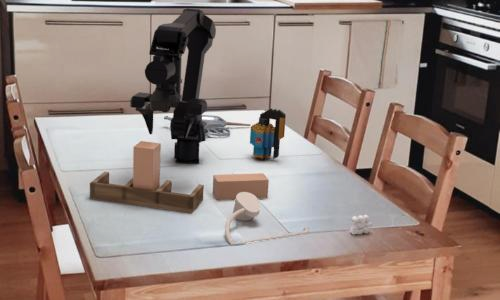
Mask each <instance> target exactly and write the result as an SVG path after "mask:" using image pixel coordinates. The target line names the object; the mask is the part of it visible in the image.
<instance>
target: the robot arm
mask: <svg viewBox="0 0 500 300" xmlns="http://www.w3.org/2000/svg"><path fill="white" fill-rule="evenodd" d="M216 29H217V27H216V25H215V23H214V21H213V19H211V18H210V17H209V16H207V15H205V12H204V11H203V10H202V9H200V8H190V7H189V8H188V7H187V8H184V9H182V13H181V14H180V15H178V17H177V18H176V19H174V20H173V21H172V22H170V23H163V24H159V25H158V27H157V28H156V29H155V30H154V33H153V37H152V41H151V45H150V48H149V54H148V55H149V56H152V61H150V62H149V63H148V64H147V65H146V67H145V69H144V76H145V78H146V80H147V81H148V82H149V83H150V84H153V85H155V89H154V91H152V93H149V92H137V93H136V94H134V95H132V96H131V98H130V102H129V103H130V104H129V106H130V108H135V109H134V110H135V111H136V112H139V113H140V114H141V116H142V118H143V120H144V122H145V126H146V128H147V131H148V133H149V135H153V133H154V132H153V131H154V112H162V113H168V112H170V111H171V108H173V109H174V110H173V115H172V117H171V118H172V119H171V121H170V123H169V124H170V126H169V128H170V129H169V130H170V139H171V140H176V141H175V142H174V155H173V158H174V159H175V163H177V164H200V143H201V142H202V143H203V142H205V141H206V138H205V136H206V137H207V135H206V134H205V133H206V130H205V128H204V125H203V122H202V115H204V113H205V112H207V111H208V103H207V101H206V99H204V98H203V99H200V98H199V97H200V93H201V85H202V77H203V69H204V63H205V57H206V53H208V51H209V50H210V48H212V45H213V41H214V40H215V38H216V34H217V33H216V32H217V30H216ZM186 49H187V50H188V51H187V52H188V53H187V58H186V65H185V74H184V80H183V79H182V56H183V55H184V54H185V53H186ZM182 83H183V86H181V85H182ZM182 87H183V88H182ZM181 90H182V93H181Z"/></svg>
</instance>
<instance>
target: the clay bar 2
mask: <svg viewBox="0 0 500 300" xmlns="http://www.w3.org/2000/svg"><path fill="white" fill-rule="evenodd" d="M212 177H213V179H212V194H213V196H214V197H215V199H216V201H222V200H225V201H226V200H236V196H237V194H238V193H240V192H248V193H251V194H253V195H255V196H256V197H257V199H268V195H269V194H268V193H269V183H270V181H269V178H268V177H267V176H266V174H264V173H263V172H262V173H232V174H231V173H228V174H213V176H212Z"/></svg>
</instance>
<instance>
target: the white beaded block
mask: <svg viewBox="0 0 500 300" xmlns="http://www.w3.org/2000/svg"><path fill="white" fill-rule="evenodd" d="M351 221H352V222H353V226H351V227H350V230H349V233H350V234H352V235H353V236H355V235H354V234H357V235H360V234H361V233H363V234H365V233H367V234H369V232H370V228H371V227H373V223H372V222H371V217H370V215H367V214H363V215H361V214H359V215H358V216H357V215H356V216H355V215H353V216H352V217H351ZM361 235H362V234H361Z"/></svg>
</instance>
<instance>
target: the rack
mask: <svg viewBox="0 0 500 300" xmlns="http://www.w3.org/2000/svg"><path fill="white" fill-rule="evenodd" d="M172 186H173V185H172V180H171V179H166V180H165V181H164V182H163V183H162V184H160V187H159V188H158V189H157V190H148V189H141V188H134V187H133V177H132V178H131V179H130V180H129V181H128V182H126V183H125V184H124V185H123V184H116V183H110V171H103V172H102V173H101V174H99V175H98V176H97V177H95V179H93V180H92V181H90V182H89V199H91V200H98V201H104V202H112V203H119V204H126V205H132V206H133V205H134V206H141V207H145V208H146V207H147V208H154V209H159V210H160V209H161V210H168V211H174V212H181V213H188V214H192V213H194V211H196V209H197V208H198V207H200V204H202V202H203V201H204V184H200V183H199V184H198V185H197V186H196V187H195V188H194V189H193V190H192V191H191V192H190V193H188V194H187V193H182V192H181V193H180V192H176V191H175V192H173V191H172Z"/></svg>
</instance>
